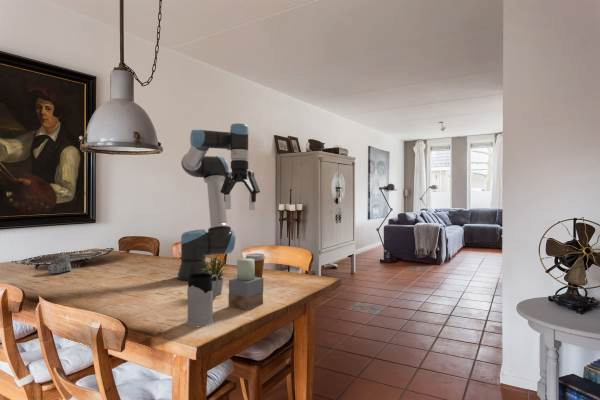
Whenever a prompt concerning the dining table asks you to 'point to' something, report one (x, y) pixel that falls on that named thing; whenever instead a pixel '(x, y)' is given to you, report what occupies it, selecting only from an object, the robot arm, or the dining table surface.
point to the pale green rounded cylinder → (245, 269)
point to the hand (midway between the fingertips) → (239, 209)
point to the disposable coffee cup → (257, 263)
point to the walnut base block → (245, 301)
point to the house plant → (215, 272)
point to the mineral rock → (60, 264)
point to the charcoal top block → (246, 286)
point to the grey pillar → (200, 299)
